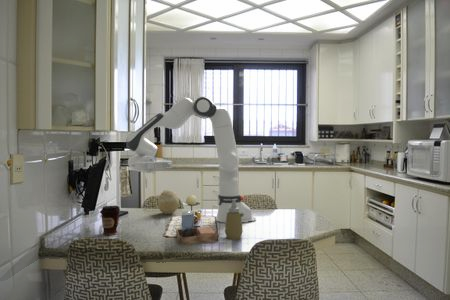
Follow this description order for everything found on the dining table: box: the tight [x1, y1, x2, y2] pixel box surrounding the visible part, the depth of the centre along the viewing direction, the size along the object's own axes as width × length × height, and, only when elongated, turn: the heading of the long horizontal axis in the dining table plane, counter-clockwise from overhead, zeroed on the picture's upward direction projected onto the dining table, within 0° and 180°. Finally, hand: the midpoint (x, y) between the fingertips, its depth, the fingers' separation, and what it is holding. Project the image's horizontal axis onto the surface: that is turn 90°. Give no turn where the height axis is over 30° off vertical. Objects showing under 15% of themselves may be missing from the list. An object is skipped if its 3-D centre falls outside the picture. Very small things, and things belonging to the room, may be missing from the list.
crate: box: [175, 226, 219, 245], centre depth 140 cm, size 17×13×4 cm
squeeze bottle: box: [224, 200, 244, 241], centre depth 141 cm, size 8×8×18 cm
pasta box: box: [196, 226, 216, 236], centre depth 141 cm, size 6×10×4 cm, turn 15°
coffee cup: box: [100, 205, 121, 236], centre depth 148 cm, size 9×8×13 cm
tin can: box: [181, 210, 195, 237], centre depth 139 cm, size 6×6×12 cm
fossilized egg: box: [157, 188, 180, 215], centre depth 189 cm, size 13×13×15 cm
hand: (162, 166), depth 155 cm, fingers open, 8 cm apart
